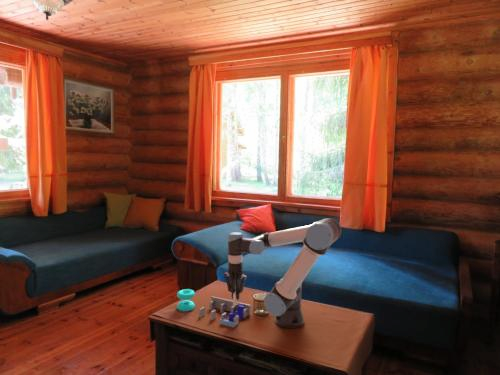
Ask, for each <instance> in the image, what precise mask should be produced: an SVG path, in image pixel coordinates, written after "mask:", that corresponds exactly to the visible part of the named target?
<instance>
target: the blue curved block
mask: <svg viewBox="0 0 500 375" xmlns="http://www.w3.org/2000/svg"><path fill="white" fill-rule="evenodd" d="M244 308H245V306H242V305H239V306H238V310H236V311H235V313H231V312H229V313H228V320H229V321H232V322H233V318H234V317H235V316H236V315H238V316H239V322H240V321H241V320H242V319H244V318H243V309H244Z"/></svg>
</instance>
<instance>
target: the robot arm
mask: <svg viewBox="0 0 500 375" xmlns="http://www.w3.org/2000/svg"><path fill="white" fill-rule="evenodd" d="M341 234H342V227H341V224H340V223H339V222H338V221H337V220H336V219H334V218H331V217H330V218H329V217H327V218H323V219H321V220H317V221H314V222H313V223H312V224H309V225H304V226H297V227H293V228H287V229H283V230H278V231H273V232H264V233H261V234H260V235H257V236H254V237H252V238H248V237H244V236H243V233H242V232H239V231H238V232H237V231H234V232H230V233H228V237H227V238H228V239H227V245H228V246H227V249H228V253H227V255H228V256H227V261H228V270H227V271H226V272H224V273H223V276H224V277H225V280H226V286H227V291H228V292H231V300H232V301H233V306H236V305H238V302H239V299H240V294H242V293H243V291H244V287H245V284H246V280H247V277H248V275H245V274H244V272H243V253H245V254H251V255H259V256H260V255H262V254H263V253H264V250H265V249H267V248H272V247H279V246H284V245H291V244H297V243H301V242H302V243H303V245H302V248H301V249H300V251H299V252H298V254H297V255H296V257H295V258H294V260H293V261H292V263H291V264H290V266H289V268H288V270H287V271H286V272H285V275H284V276H283V277H282V278H280V279H279V281H276V283H275V284H274V286H273V287H272V289H271V290H270V291H269V292H268V293H267V294H266V295H265V297H264V299H263V305H264V308H265V309H266V311H267V312H268V313H269V314H270V315H271V316H274V317H275V318H274V319H275V320H274V321H275V324H276V325H278V326H280V327H282V328H286V329H297V328H301V327H302V326H303V325H304V323H305V317H304V314H303V310H302V289H303V287H302V285H303V284H302V283H303V282H304V280H305V279H306V278H307V275H308V274H309V273H310V271H311V269H312V268H313V267H314V265H315V263H316V262H317V260H318V259H319V257H320V256H324V255H326V253H327V251H328V250H329V248H331V246H332V244H333V243H335V242H336V241H337V240H338V239H339V238H340V237H341Z"/></svg>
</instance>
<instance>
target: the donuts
mask: <svg viewBox="0 0 500 375" xmlns="http://www.w3.org/2000/svg"><path fill="white" fill-rule="evenodd" d="M195 295H196V293H195V290H193V289H190V288H185V289H181V290H179V291H177V293H176V296H177V298H178V299H179V300H182V301H179V302H178V303H177V305H176V308H177V310H178V311H180V312H189V311H193V309H195V306H196V304H195V303H194V301H192V300H191V299H193V298H194V297H195Z"/></svg>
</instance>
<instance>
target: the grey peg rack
mask: <svg viewBox="0 0 500 375" xmlns="http://www.w3.org/2000/svg"><path fill="white" fill-rule="evenodd" d="M210 299H211V301H209V311H210V321H214V320H215V319H216V318H217V310H216V309H219V310H220V313H221V316H220V317H221V318H220V319H219V324H220V325H223V326H227V327H231V328H235V327H237V326H238V325H239V322H240V321H239V316H238V315H236V316H235V317H234V318H233V322H232V321H229V319H227V317H228V316H227V314H228V313H227V312H230V313H235V311H236V310H238V306H239V305H242V306H245V308H244V309H243V318H242V319H246V318H247V317H250V316H251V313H252V312H251V311H252V309H251V308H252V305H251V304H250V303H249V304H248V303H245V302H244V303H243V302H240V301H238V305H236V306H233V299H227V298H222V297H218V296H215V295H212V296H211V298H210ZM225 311H227V312H225ZM205 314H206V312H205V306H202V307H200V308H199V309H198V317H199V318H203V317H204V316H205Z"/></svg>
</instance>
